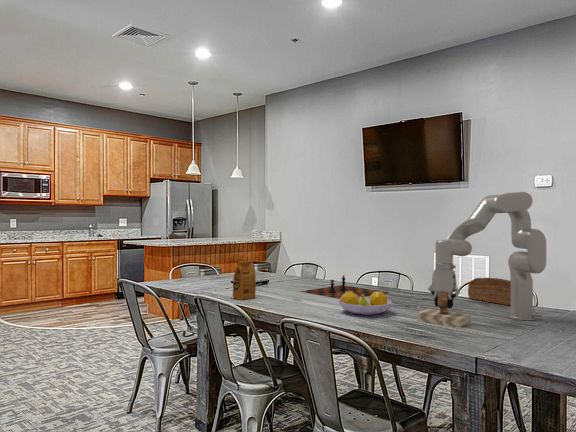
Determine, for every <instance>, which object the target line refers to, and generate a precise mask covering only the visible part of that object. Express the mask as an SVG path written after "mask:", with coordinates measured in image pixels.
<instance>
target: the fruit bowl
mask: <svg viewBox="0 0 576 432" xmlns="http://www.w3.org/2000/svg"><path fill="white" fill-rule="evenodd" d="M337 301H338V304H339V305H340V306H341V308H342V309H343V310H345V311H347V312H349V313H351V314H353V315H360V314H361V316H373V315H378V314H382V313H384V312H385V311H387V310H389V309H390V308H391V306H392V300H391V299H388V298H387V295H386V294H384V293H383V292H373V293H372V294H371V295H370V296H367V297H364V295H362V297H358V295H356V294H355V293H353V292H352V291H349V292H346V293H344V294H343V295H342V296H341V298H340V299H338V300H337Z"/></svg>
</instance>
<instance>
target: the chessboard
mask: <svg viewBox="0 0 576 432" xmlns="http://www.w3.org/2000/svg"><path fill="white" fill-rule="evenodd" d="M329 281H330V282H331V283H330V286H327V287H319V288H312V289H305V290H300V291H299V292H300V293H304V294H311V295H314V296H321V297H327V298H332V299H338V300H339V299H340V298H341V296H342V295H343V294H344V293H346V292H349V291H352V292H353V293H355V294H356V295H358V297H362V295H364V297H370V295H371V294H372V293H373V292H383V293H384V295H386V294H389V291H385V290H384V291H383V290H377V289H372V288H371V289H370V288H364V287H358V286H352V285H351V286H349V285H346V277H345V275H342V277H341V285H340V284H339V285H335V283H334V282H335V279H329Z"/></svg>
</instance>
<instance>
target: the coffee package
mask: <svg viewBox="0 0 576 432" xmlns="http://www.w3.org/2000/svg"><path fill="white" fill-rule="evenodd" d="M236 264H237V266H236V268H235V269H236V270H235V272H234V275H233V279H232V297H233V299H235V300H239V301H243V300H251V299H255V298H256V287H257V286H256V285H257V284H256V282H257V280H256V270H255V267H254V263H253V260H247V261H244V260H242V261H241V260H240V261H239V260H238V261H236Z"/></svg>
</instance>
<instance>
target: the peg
mask: <svg viewBox="0 0 576 432" xmlns="http://www.w3.org/2000/svg"><path fill="white" fill-rule="evenodd" d="M448 299H449V297H448V293H446V292H441V291H438V305H437V307H438V308H439V310H440V314H444V315H447V311H448V309H449V308H448Z"/></svg>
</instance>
